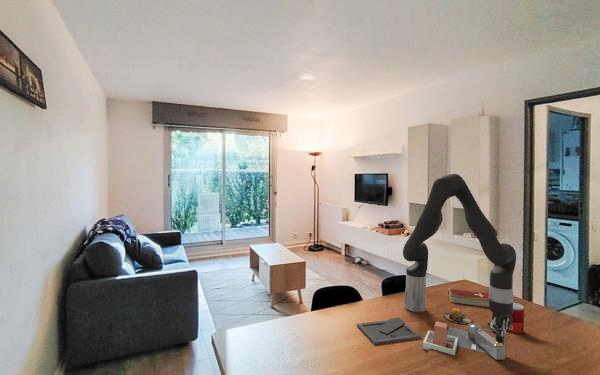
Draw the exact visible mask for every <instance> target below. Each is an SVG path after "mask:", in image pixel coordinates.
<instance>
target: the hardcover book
mask: <svg viewBox="0 0 600 375" xmlns="http://www.w3.org/2000/svg"><path fill="white" fill-rule="evenodd" d="M447 289H448V290H447V295H449V300H450V302H451V303H456V304H465V305H469V306H470V305H471V306H472V305H473V306H477V307H478V306H480V307H487V308H489V292H483V291H476V290H475V291H474V290H468V289H467V290H466V289H465V290H464V289H458V288H456V289H455V288H450V287H449V288H447Z"/></svg>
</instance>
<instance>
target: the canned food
mask: <svg viewBox="0 0 600 375" xmlns="http://www.w3.org/2000/svg"><path fill="white" fill-rule="evenodd" d="M509 316H510V317H512V318H513V319H512V322H511V325H510V328H509V331H508V332H507V333H510V334H513V335H522V334H523V333H524V327H525V326H524V324H525V306H524V305H522V304H520V303H518V302H514V301H513V313H512V314H511V315H509Z"/></svg>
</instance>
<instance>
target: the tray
mask: <svg viewBox="0 0 600 375" xmlns="http://www.w3.org/2000/svg"><path fill="white" fill-rule="evenodd" d="M447 340H450V341H453V342H454V345H452V346H453V347H452V348H449V347H447V346H446V347H443V346H439V345H436V344H434V330H427V332H426V335H425V337H424V339H423V342H422V349H423V350H426V351H430V350H434V351H437V352H442V353H446V354H449V355H453V356H456V353H457V348H458V346H457V344H458V338H457V337H453V336H449V335H447Z"/></svg>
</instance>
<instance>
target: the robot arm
mask: <svg viewBox="0 0 600 375" xmlns="http://www.w3.org/2000/svg"><path fill="white" fill-rule="evenodd" d="M453 197H455V198H456V199H457V200H458V201H459V202H460V203H461V205H462V208H463V212H464V217H465V222H466V224H467V225H468V226H467V227H468V228H469V229H470V231H471V232H472V233H473V235H474V236H475V237H476V239H477V240H478V241H479V244H480V247H481V248H482V251H483V254H484V255H485V256H486V258H487V260H488V261H490V262H491V263H492V264H494V266H493V268H492V269H491V271H490V272H489V288H488V293H489V307H488V309H489V311H490V312H491V313H492V315H491V320H492V321H491V322H490V321H489V322H488V323H487V326H488V328H489V330H490V332H491V333H492V334H493V335H495V338H496V341H499V342H502V343H503V345H504V340H505V336H506V334H507V333H509V332H508V331H509V328H510V325H511V322H512V319H513V318H512V317H510V316H509V315H511V314H512V313H513V302H514V290H513V284H514V283H513V280H514V278H513V277H514V276H513V274H514V272H515V268H516V263H517V252H516V250H515V248H514V247H513V246H512V245H511V244H508V243H500V241H499V239H498V238H497V236H498V231H497V230H496V228H495V227H494V225H493V224H492V223H491V222H490V221H489V219H488V217H486V216H485V214H484V212H483V211H482V209H481V208H480V206H479V205H478V203H477V200H476V199H475V198H474V195H473V194H472V191H471V190H470V188H469V186H468V184H467V183H466V181H465V179H464V178H463V177H462V176H461V175H459V174H457V173H450V174H446V175H442V176H438V177H437V178H436V179H435V180H434V182H433V184H432V186H431V190H430V192H429V195H428V199H427V201H426V204H425V206H424V207H423V210H422V212H421V214H420V216H419V218H418V220H417V222H416V225H415V227H414V228H413V231H412V232H411V234H410V236H409V237H408V239H407V240H406V242H405V243H404V246H403V248H402V249H403V250H402V256H403V259H404V260H405V261H407V262H414V263H413V264H412V265H410V266H408V267H407V268H406V272H405V274H406V276H405V290H404V309H406V310H408V311H410V312H414V313H424V312H425V311H426V308H427V307H426V305H427V304H426V300H427V298H426V297H427V296H426V295H427V294H426V293H427V289H426V288H427V272H428V265H429V249H428V248H429V247H428V246H427V244H426V243H424V242H426V241H427V240H429V239H430V238H431V237H433V236H434V235H436V233H437V232H438V230H439V229H440V227H441V225H442V222H443V212H442V211H443V210H442V209H443V207H444V206H445V203H446V201H448V199H449V198H453Z"/></svg>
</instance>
